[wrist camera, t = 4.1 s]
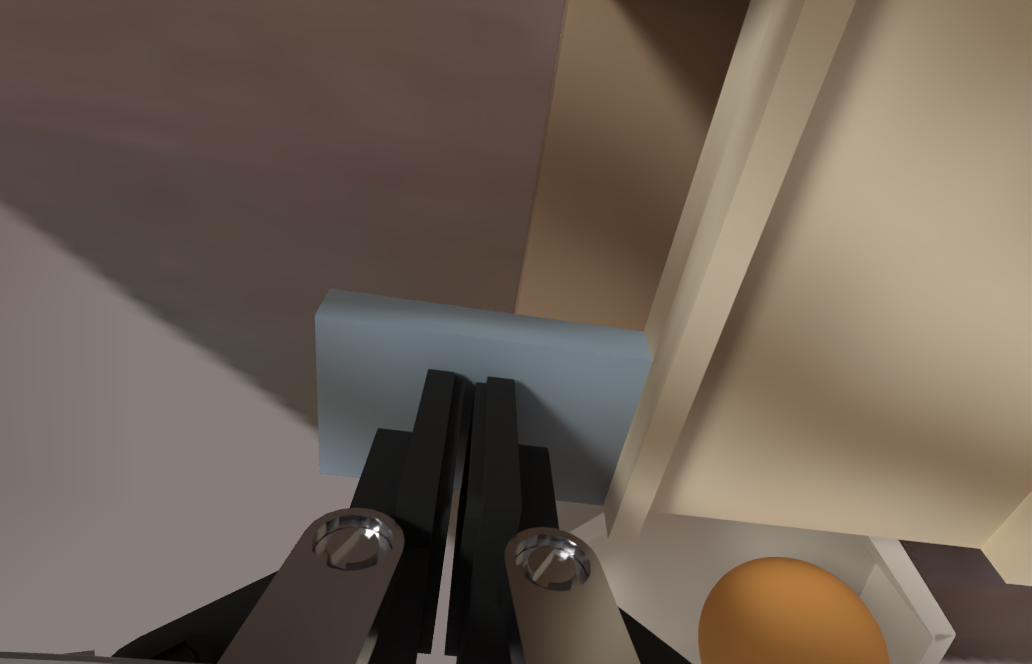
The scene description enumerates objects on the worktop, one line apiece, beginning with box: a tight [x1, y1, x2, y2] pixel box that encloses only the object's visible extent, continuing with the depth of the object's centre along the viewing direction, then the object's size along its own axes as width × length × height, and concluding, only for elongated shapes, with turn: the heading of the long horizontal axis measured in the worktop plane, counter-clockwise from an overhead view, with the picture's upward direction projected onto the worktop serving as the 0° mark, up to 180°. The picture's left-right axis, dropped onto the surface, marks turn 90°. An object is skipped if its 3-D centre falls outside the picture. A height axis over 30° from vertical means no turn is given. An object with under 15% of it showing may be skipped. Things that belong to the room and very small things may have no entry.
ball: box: [698, 557, 890, 664], centre depth 14 cm, size 4×4×4 cm
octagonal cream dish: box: [555, 500, 956, 664], centre depth 20 cm, size 14×14×4 cm
